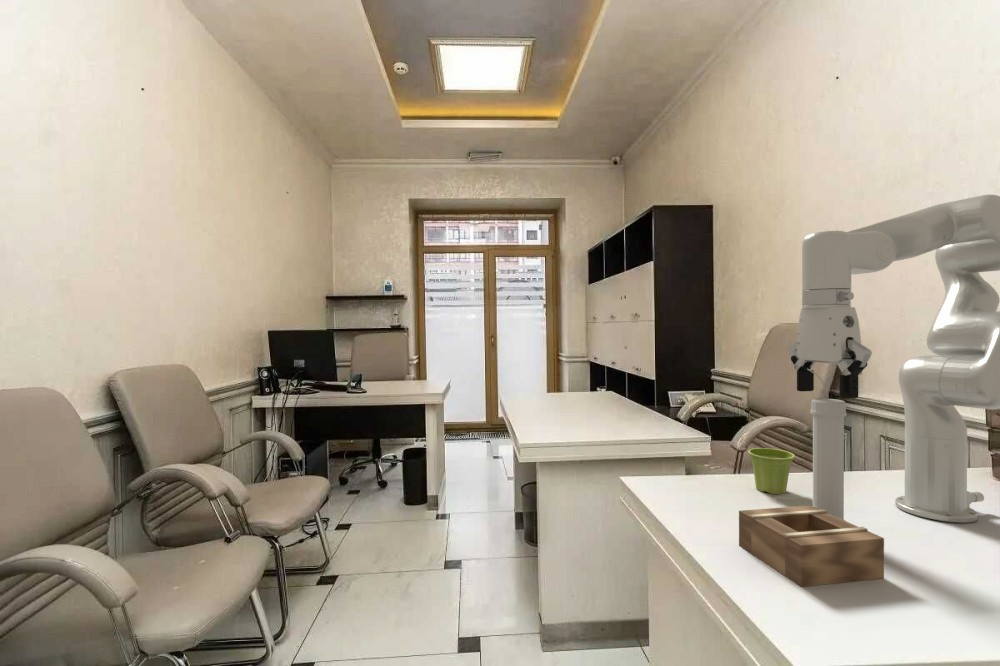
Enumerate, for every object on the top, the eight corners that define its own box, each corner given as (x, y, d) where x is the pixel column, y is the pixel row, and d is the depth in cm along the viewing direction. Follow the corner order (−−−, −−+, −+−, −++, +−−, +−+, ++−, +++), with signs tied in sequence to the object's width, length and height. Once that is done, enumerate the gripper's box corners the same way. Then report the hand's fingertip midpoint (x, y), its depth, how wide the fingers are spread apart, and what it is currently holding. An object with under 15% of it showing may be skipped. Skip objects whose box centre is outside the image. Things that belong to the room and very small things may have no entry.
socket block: (810, 539, 88) (810, 503, 88) (883, 578, 74) (883, 536, 74) (739, 545, 86) (738, 508, 86) (801, 586, 72) (801, 543, 72)
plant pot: (803, 497, 110) (803, 458, 110) (760, 497, 110) (760, 458, 110) (780, 484, 119) (780, 447, 119) (740, 484, 120) (740, 448, 120)
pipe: (852, 540, 88) (852, 370, 87) (813, 537, 89) (813, 369, 89) (837, 528, 93) (838, 367, 93) (800, 525, 94) (801, 367, 94)
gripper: (888, 297, 83) (888, 400, 83) (807, 303, 100) (807, 388, 100) (849, 297, 81) (849, 401, 82) (773, 302, 98) (773, 389, 99)
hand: (825, 394), depth 91 cm, fingers open, 9 cm apart
